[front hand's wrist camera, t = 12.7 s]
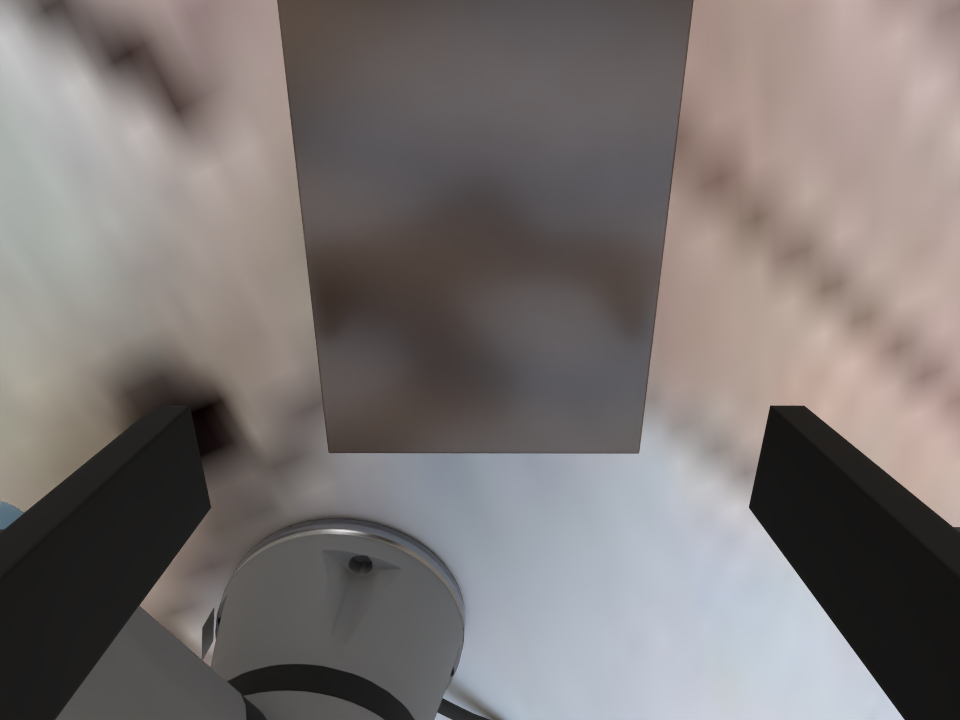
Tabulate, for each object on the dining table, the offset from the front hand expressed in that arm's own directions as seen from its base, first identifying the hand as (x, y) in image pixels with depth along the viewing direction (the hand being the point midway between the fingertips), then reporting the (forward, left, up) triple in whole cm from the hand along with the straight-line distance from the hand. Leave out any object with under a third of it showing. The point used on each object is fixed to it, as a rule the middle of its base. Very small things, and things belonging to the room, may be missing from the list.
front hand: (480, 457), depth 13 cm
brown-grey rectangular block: (+5, -3, -17) cm, 18 cm away
